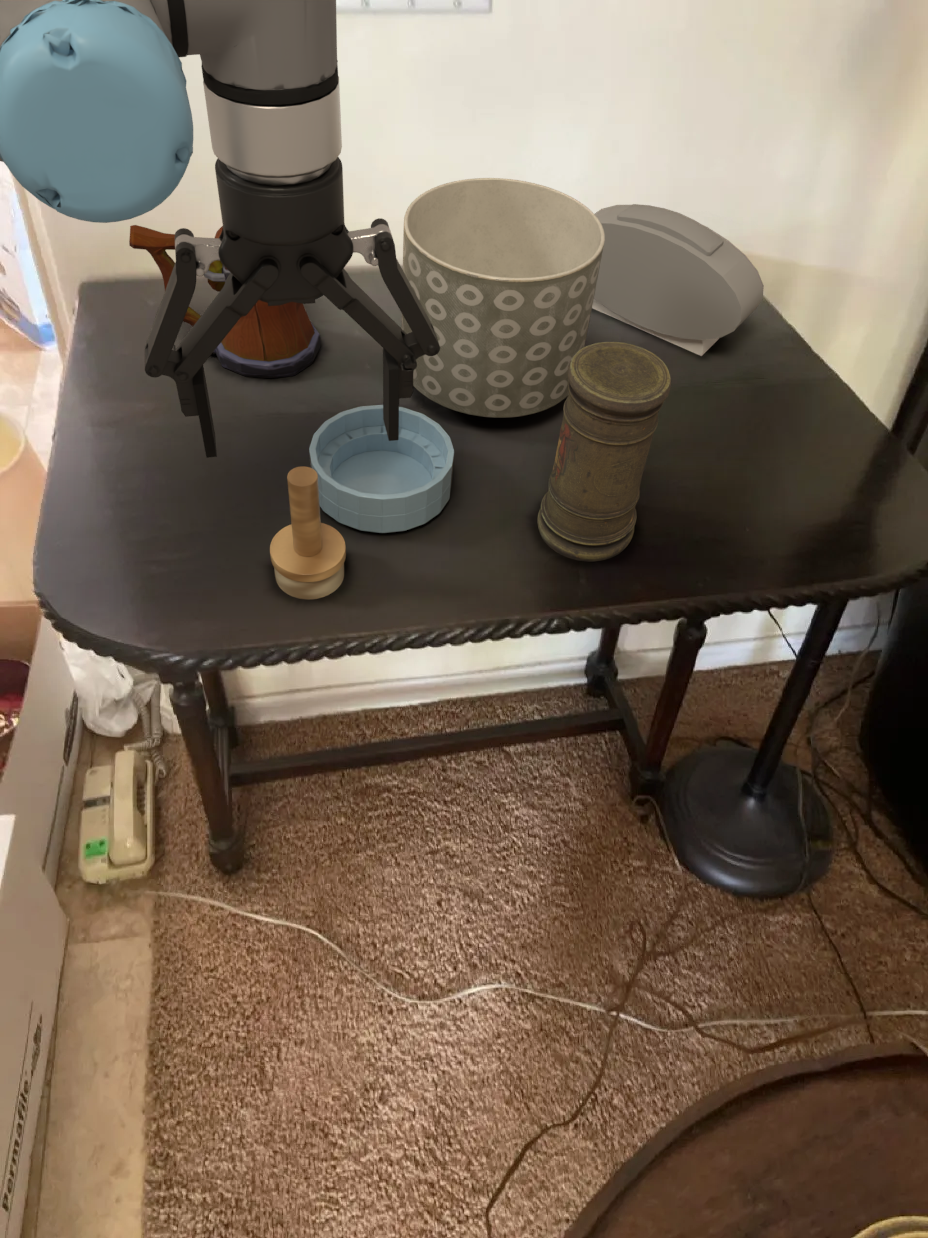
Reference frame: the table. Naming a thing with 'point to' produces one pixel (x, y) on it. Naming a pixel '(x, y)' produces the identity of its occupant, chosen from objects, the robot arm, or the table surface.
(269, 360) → the mug
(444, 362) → the planter
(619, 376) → the container
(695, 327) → the alarm clock
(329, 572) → the brush
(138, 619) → the table surface
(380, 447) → the bowl
